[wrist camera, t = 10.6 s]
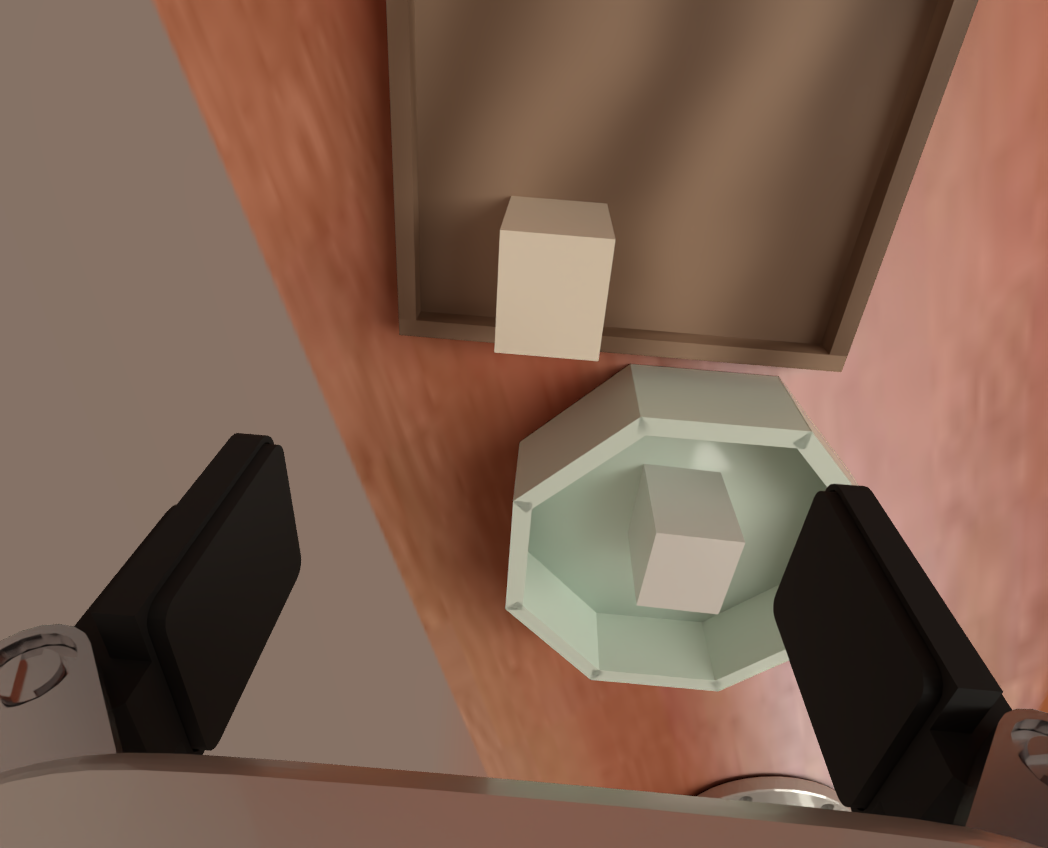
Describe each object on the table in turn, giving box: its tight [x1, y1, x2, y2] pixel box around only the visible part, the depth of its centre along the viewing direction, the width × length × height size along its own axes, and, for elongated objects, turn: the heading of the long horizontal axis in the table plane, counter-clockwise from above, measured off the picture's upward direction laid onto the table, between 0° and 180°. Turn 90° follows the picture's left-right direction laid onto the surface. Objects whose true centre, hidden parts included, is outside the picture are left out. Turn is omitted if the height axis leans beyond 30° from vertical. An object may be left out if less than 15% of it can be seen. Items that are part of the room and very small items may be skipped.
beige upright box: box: [494, 196, 616, 361], centre depth 23 cm, size 4×4×5 cm
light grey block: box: [628, 464, 745, 614], centre depth 29 cm, size 4×4×5 cm
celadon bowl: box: [505, 364, 859, 691], centre depth 30 cm, size 16×16×4 cm
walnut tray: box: [386, 0, 978, 372], centre depth 23 cm, size 18×14×2 cm
